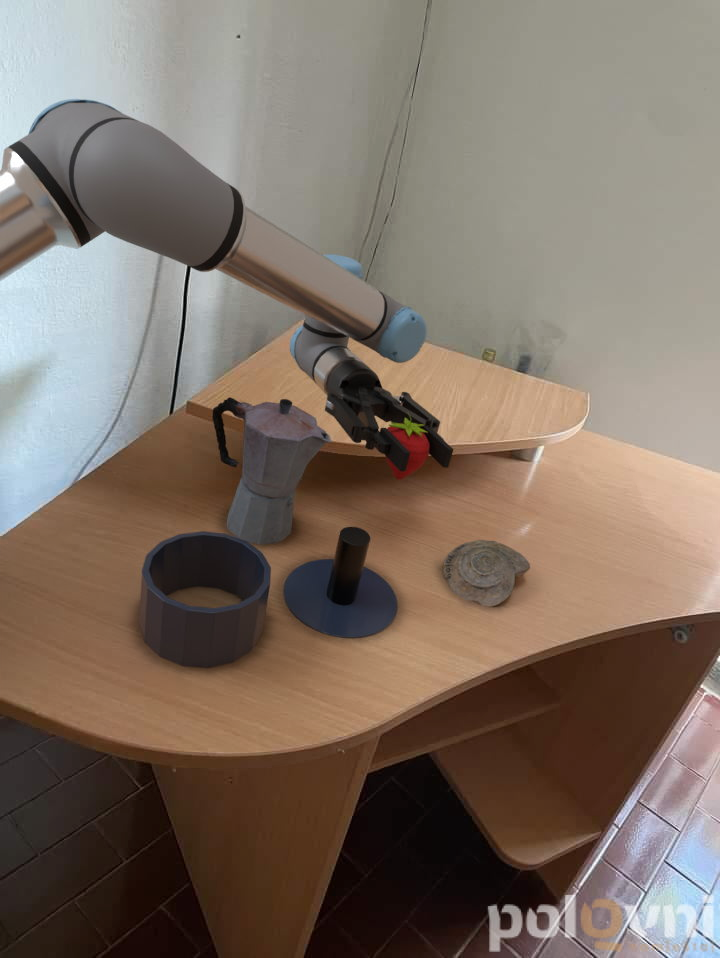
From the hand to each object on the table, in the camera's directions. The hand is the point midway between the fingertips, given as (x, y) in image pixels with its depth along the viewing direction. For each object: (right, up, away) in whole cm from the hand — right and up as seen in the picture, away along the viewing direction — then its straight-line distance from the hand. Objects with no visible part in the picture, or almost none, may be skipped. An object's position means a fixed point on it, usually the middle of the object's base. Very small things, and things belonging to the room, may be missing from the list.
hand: (427, 460), depth 88 cm
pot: (-26, -19, -12) cm, 34 cm away
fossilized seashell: (+8, -17, +5) cm, 19 cm away
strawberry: (-3, -2, +7) cm, 8 cm away
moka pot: (-23, -10, +6) cm, 25 cm away
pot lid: (-11, -17, -4) cm, 21 cm away
